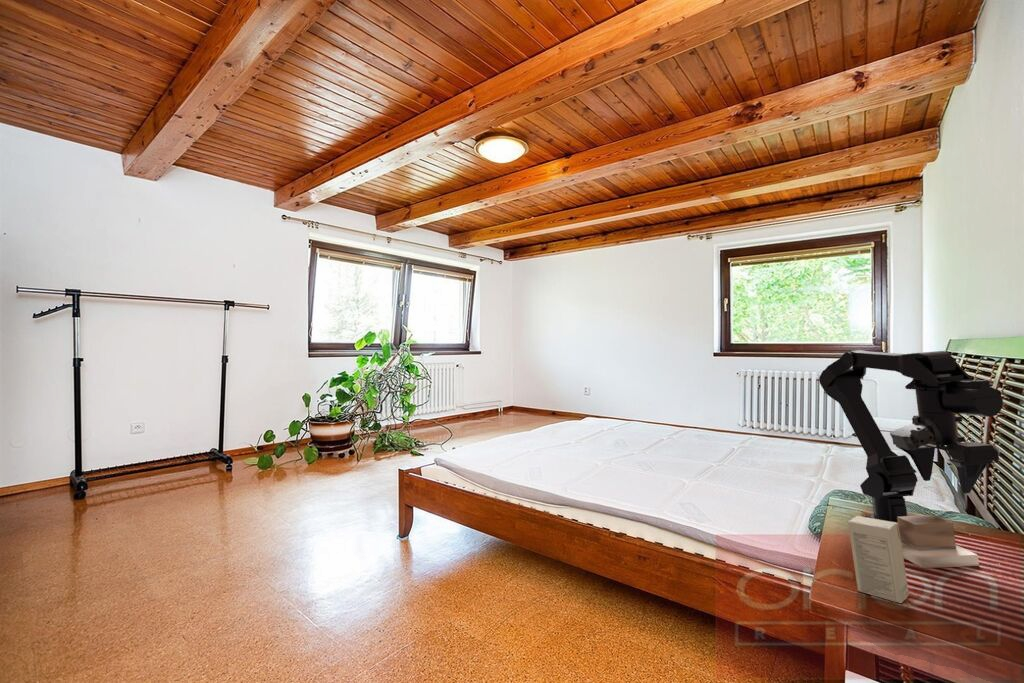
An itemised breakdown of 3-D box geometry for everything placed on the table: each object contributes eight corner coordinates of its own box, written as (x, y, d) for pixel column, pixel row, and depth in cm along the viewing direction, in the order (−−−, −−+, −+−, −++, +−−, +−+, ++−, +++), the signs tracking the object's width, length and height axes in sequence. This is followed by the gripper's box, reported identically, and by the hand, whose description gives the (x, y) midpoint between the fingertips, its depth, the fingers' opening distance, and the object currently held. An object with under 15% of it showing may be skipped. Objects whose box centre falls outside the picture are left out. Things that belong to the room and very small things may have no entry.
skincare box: (909, 595, 76) (901, 522, 77) (901, 605, 74) (892, 529, 74) (864, 582, 82) (856, 513, 82) (854, 590, 79) (847, 520, 80)
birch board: (883, 546, 95) (881, 536, 95) (933, 543, 94) (931, 534, 94) (922, 568, 85) (921, 557, 85) (979, 565, 84) (977, 554, 84)
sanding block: (899, 541, 92) (897, 516, 92) (936, 539, 92) (933, 514, 92) (918, 550, 88) (915, 524, 88) (956, 549, 87) (953, 522, 87)
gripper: (864, 409, 104) (872, 477, 103) (933, 419, 85) (944, 502, 85) (915, 405, 103) (923, 474, 102) (996, 415, 85) (1007, 499, 84)
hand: (945, 486), depth 93 cm, fingers open, 9 cm apart
